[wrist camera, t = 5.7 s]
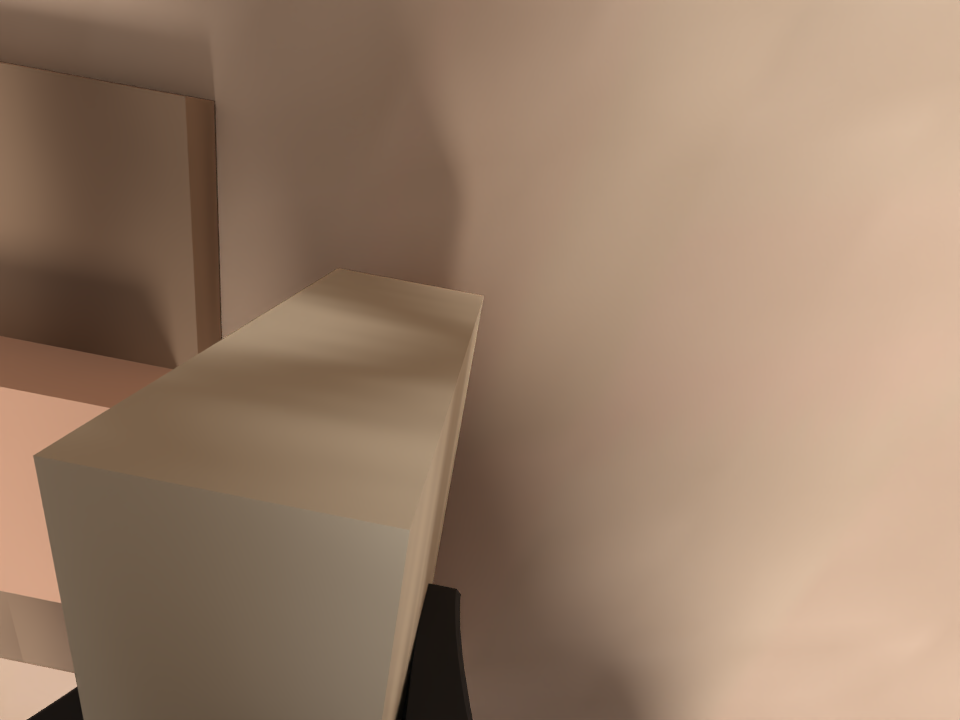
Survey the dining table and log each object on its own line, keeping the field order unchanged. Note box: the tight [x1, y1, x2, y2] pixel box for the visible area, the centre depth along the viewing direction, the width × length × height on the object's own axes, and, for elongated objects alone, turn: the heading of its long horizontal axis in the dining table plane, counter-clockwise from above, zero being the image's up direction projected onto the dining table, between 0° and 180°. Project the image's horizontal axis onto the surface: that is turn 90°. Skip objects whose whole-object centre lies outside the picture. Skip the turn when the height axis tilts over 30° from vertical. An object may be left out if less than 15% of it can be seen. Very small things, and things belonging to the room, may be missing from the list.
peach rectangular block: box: [0, 336, 173, 603], centre depth 13 cm, size 6×6×2 cm
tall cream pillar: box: [33, 268, 484, 720], centre depth 10 cm, size 3×12×7 cm, turn 171°
